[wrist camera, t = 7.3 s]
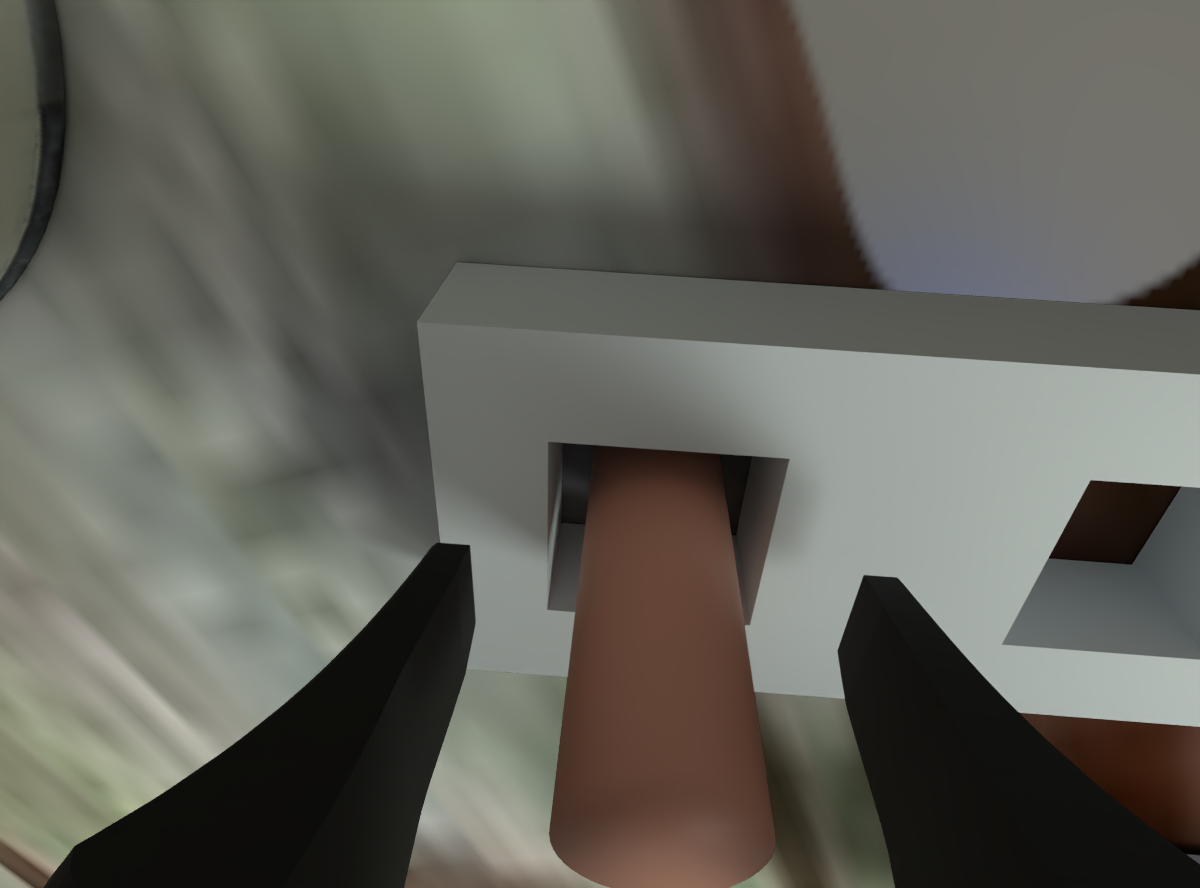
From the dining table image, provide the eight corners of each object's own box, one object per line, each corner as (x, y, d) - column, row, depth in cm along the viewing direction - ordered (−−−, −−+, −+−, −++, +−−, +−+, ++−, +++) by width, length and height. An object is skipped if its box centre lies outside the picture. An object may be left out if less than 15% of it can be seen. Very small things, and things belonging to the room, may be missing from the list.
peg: (726, 406, 16) (794, 786, 8) (712, 509, 18) (757, 903, 10) (594, 400, 16) (546, 770, 9) (592, 503, 18) (551, 888, 10)
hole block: (1405, 323, 14) (1568, 399, 12) (1177, 631, 19) (1257, 731, 17) (456, 262, 14) (416, 322, 12) (478, 579, 19) (453, 668, 17)
